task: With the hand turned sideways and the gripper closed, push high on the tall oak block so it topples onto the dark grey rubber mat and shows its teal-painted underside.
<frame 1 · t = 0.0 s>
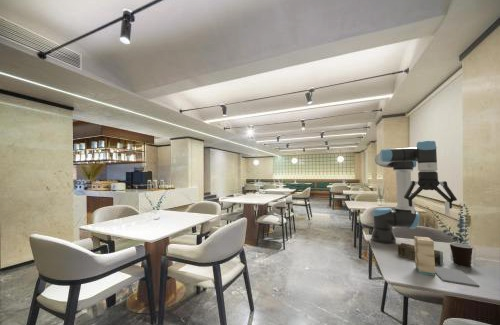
hand: (429, 214, 103), 28 cm above the table, tool pointing down, fingers open, 13 cm apart
rubber mat: (451, 275, 98), on the table
oak block: (425, 271, 102), on the table
coffee mug: (463, 264, 111), on the table
beverage carton: (420, 259, 118), on the table
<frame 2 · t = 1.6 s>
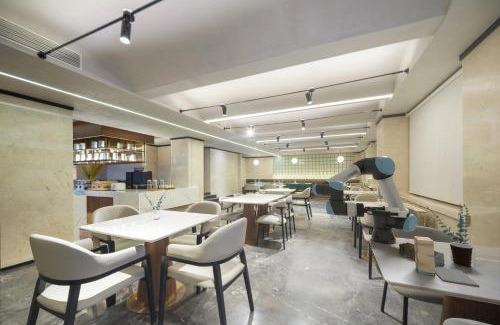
hand: (402, 212, 107), 28 cm above the table, tool horizontal, fingers open, 12 cm apart
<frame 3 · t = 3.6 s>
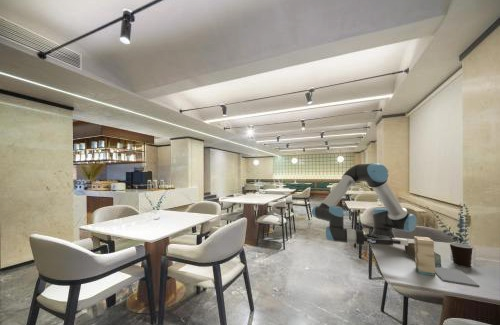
hand: (407, 242, 105), 13 cm above the table, tool horizontal, fingers closed
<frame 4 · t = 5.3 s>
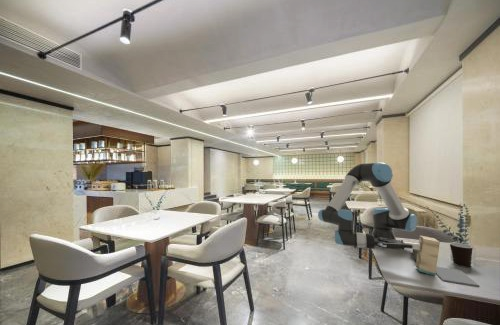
hand: (419, 246, 103), 12 cm above the table, tool horizontal, fingers closed
oak block: (425, 270, 102), on the table, tilted 8°, touching gripper
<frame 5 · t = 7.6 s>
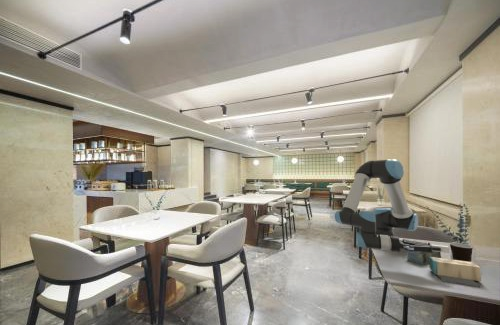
hand: (448, 249, 99), 12 cm above the table, tool horizontal, fingers closed
oak block: (432, 265, 101), point 4 cm above the table, tilted 90°, touching rubber mat
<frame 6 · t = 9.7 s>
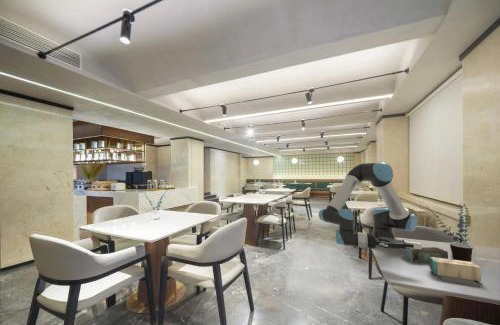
hand: (420, 246, 103), 12 cm above the table, tool horizontal, fingers closed
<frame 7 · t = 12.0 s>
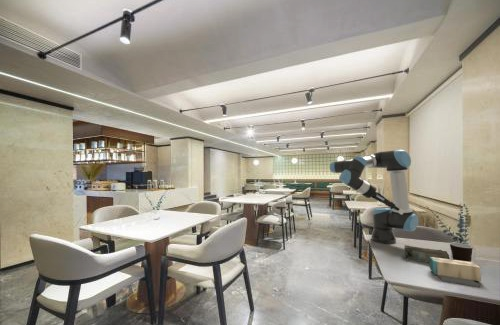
hand: (402, 212, 117), 26 cm above the table, tool tilted 55°, fingers closed
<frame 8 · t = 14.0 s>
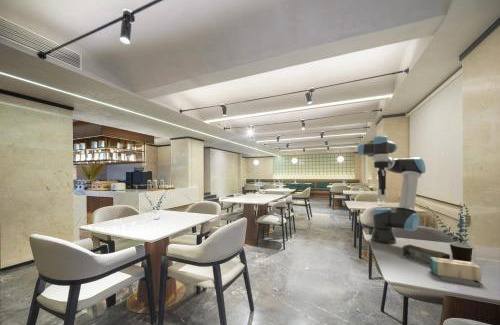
hand: (382, 200, 126), 32 cm above the table, tool pointing down, fingers closed
at the end: oak block tilted 90°; oak block touching rubber mat; oak block inside the target area (1.7 cm from its centre), point 3.6 cm above the table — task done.
